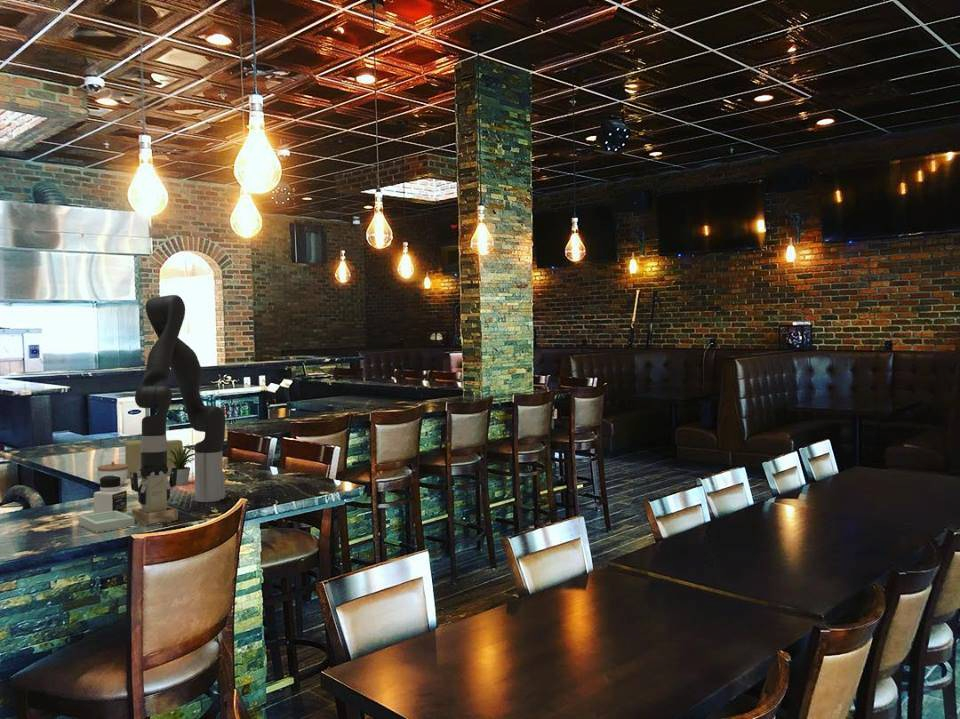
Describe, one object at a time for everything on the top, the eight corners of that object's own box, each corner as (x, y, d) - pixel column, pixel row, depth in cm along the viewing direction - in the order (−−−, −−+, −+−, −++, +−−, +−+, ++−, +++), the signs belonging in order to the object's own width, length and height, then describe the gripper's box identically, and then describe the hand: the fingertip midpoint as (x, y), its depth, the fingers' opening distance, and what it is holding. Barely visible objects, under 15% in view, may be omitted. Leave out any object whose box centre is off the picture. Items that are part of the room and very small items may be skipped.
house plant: (185, 488, 292) (185, 446, 291) (153, 487, 294) (152, 444, 294) (206, 482, 306) (206, 441, 305) (175, 480, 308) (174, 440, 308)
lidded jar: (134, 484, 300) (134, 460, 299) (111, 489, 290) (110, 464, 290) (115, 482, 304) (114, 459, 304) (91, 487, 294) (91, 462, 294)
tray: (116, 519, 242) (116, 510, 242) (134, 526, 232) (134, 517, 232) (78, 525, 234) (78, 516, 234) (96, 533, 224) (96, 523, 224)
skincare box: (149, 516, 236) (149, 476, 235) (141, 514, 238) (140, 475, 238) (167, 512, 241) (167, 473, 241) (159, 510, 243) (158, 472, 243)
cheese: (187, 473, 325) (187, 438, 324) (180, 478, 315) (180, 441, 315) (133, 474, 323) (132, 439, 322) (124, 478, 313) (124, 442, 313)
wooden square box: (163, 515, 247) (163, 504, 246) (177, 521, 240) (177, 509, 240) (132, 521, 239) (131, 509, 239) (145, 526, 232) (145, 514, 232)
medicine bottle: (112, 515, 247) (112, 478, 247) (93, 514, 248) (93, 477, 248) (127, 510, 254) (127, 474, 254) (108, 509, 255) (108, 473, 255)
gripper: (171, 446, 247) (171, 497, 247) (125, 450, 236) (125, 504, 237) (181, 448, 242) (182, 501, 242) (135, 453, 231) (135, 508, 232)
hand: (154, 502), depth 239 cm, fingers closed on skincare box, 6 cm apart
